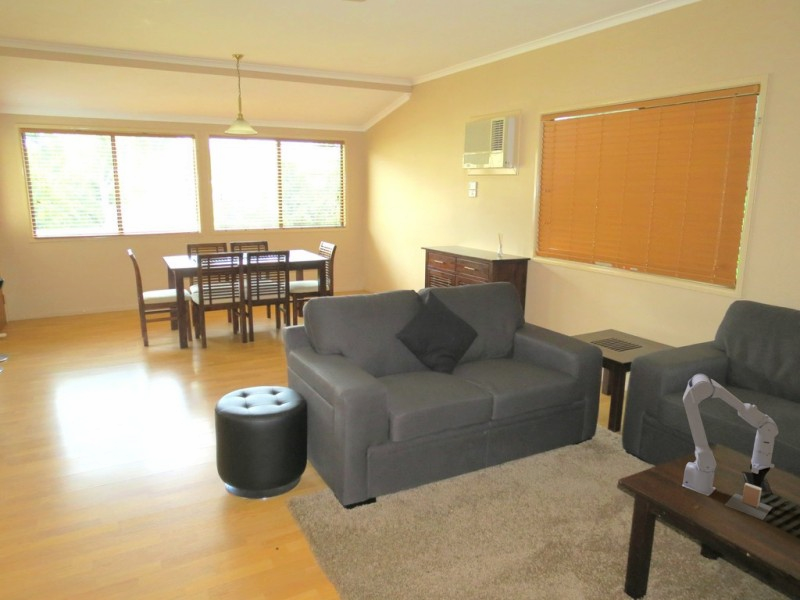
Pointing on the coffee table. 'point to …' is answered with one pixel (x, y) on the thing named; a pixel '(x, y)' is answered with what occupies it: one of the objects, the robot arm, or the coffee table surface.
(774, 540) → the coffee table surface
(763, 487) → the phone
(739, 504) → the mat
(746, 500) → the tile
